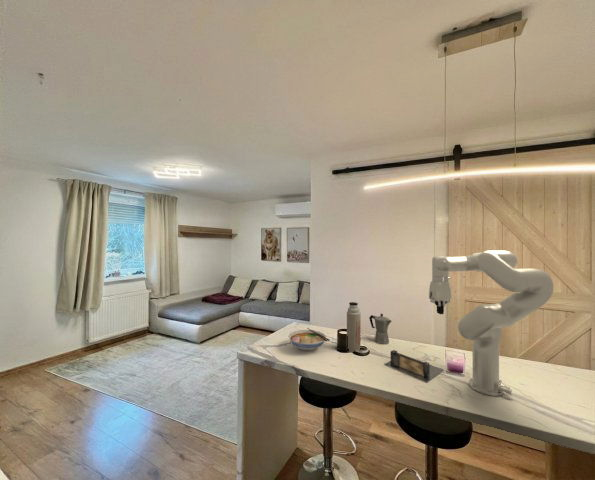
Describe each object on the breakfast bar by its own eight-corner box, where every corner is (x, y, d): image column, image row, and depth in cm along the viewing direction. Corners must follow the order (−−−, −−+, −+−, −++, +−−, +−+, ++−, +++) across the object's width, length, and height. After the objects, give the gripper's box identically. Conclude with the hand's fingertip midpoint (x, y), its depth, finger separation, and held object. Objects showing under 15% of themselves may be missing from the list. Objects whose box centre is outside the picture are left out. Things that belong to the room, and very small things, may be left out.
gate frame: (444, 370, 130) (443, 356, 130) (427, 382, 119) (427, 367, 119) (402, 355, 147) (402, 343, 147) (384, 364, 136) (384, 351, 136)
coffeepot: (394, 342, 165) (394, 314, 165) (387, 346, 159) (387, 317, 159) (373, 336, 176) (373, 309, 176) (365, 339, 170) (365, 312, 170)
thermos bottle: (363, 350, 153) (363, 303, 153) (353, 354, 149) (353, 305, 149) (353, 346, 160) (353, 300, 160) (343, 349, 155) (344, 302, 155)
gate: (424, 374, 124) (424, 361, 124) (422, 375, 123) (422, 362, 123) (397, 363, 135) (397, 351, 135) (395, 364, 134) (395, 352, 134)
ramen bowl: (281, 344, 163) (282, 330, 163) (313, 338, 173) (313, 326, 173) (298, 360, 140) (298, 345, 141) (334, 352, 150) (334, 338, 150)
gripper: (448, 278, 144) (448, 311, 143) (422, 278, 142) (423, 312, 142) (458, 280, 136) (458, 315, 136) (431, 280, 135) (431, 315, 135)
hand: (440, 313), depth 139 cm, fingers closed
